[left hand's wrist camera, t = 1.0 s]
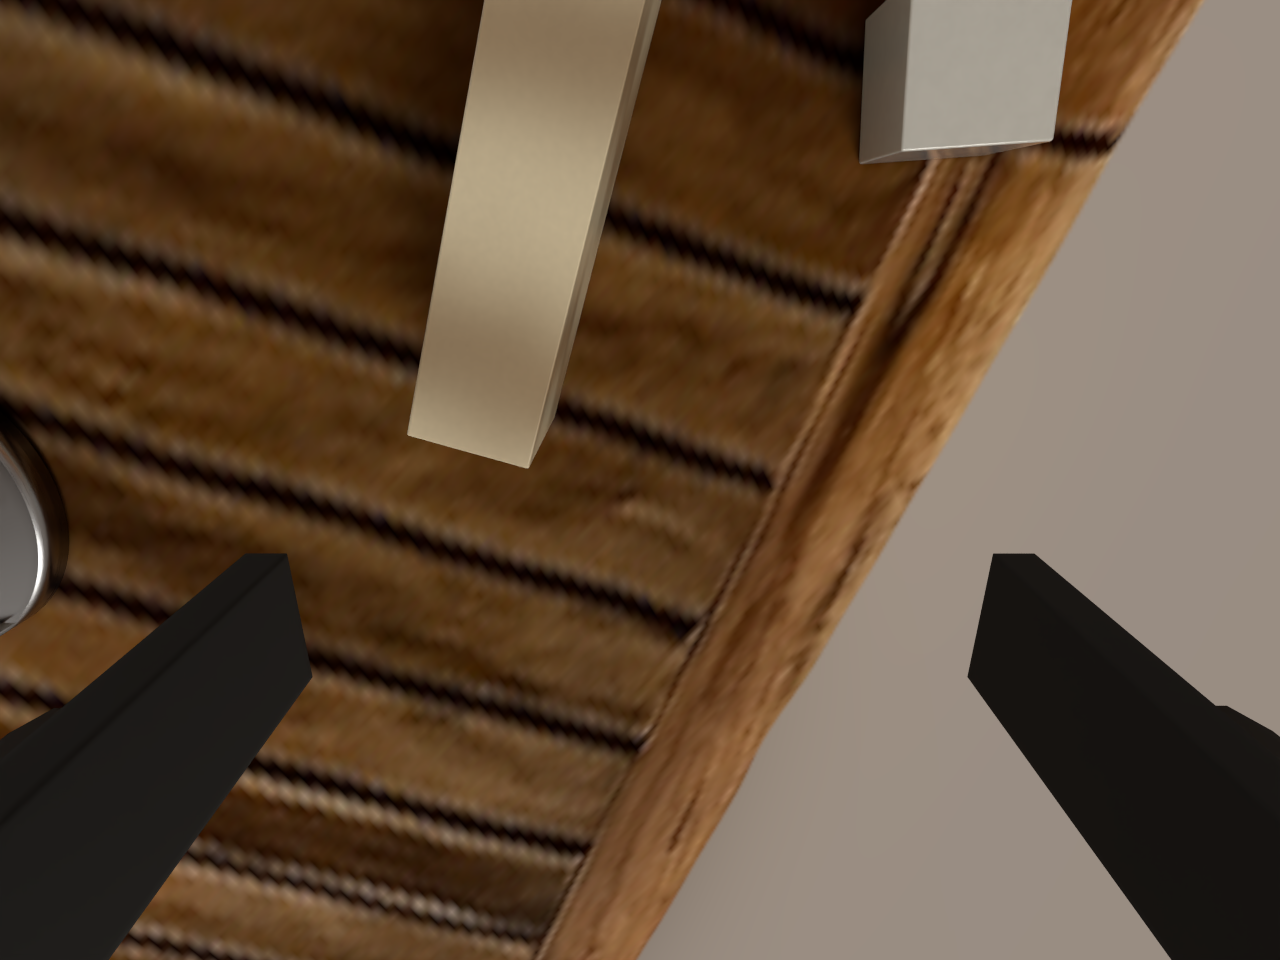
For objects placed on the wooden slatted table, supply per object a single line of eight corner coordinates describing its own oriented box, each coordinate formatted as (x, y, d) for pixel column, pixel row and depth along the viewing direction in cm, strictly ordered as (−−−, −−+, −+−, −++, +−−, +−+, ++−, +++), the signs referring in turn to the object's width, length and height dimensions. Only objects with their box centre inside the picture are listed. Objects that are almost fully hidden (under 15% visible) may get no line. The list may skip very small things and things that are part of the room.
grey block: (858, 164, 27) (901, 151, 23) (865, 18, 25) (913, -28, 21) (984, 155, 27) (1054, 140, 22) (999, 8, 25) (1079, -42, 21)
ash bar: (554, 418, 31) (528, 469, 25) (458, 390, 31) (406, 435, 24) (741, -314, 22) (779, -539, 16) (610, -365, 22) (593, -617, 15)
